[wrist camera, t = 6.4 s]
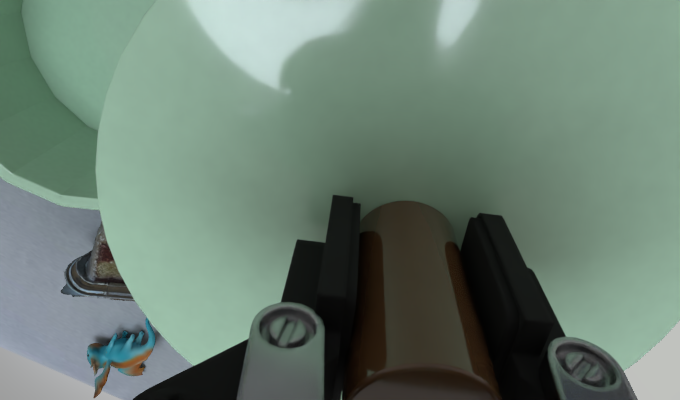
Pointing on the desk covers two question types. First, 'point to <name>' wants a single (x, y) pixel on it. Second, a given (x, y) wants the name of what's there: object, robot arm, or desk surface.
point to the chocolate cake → (96, 274)
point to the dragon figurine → (120, 356)
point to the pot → (58, 91)
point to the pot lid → (398, 170)
